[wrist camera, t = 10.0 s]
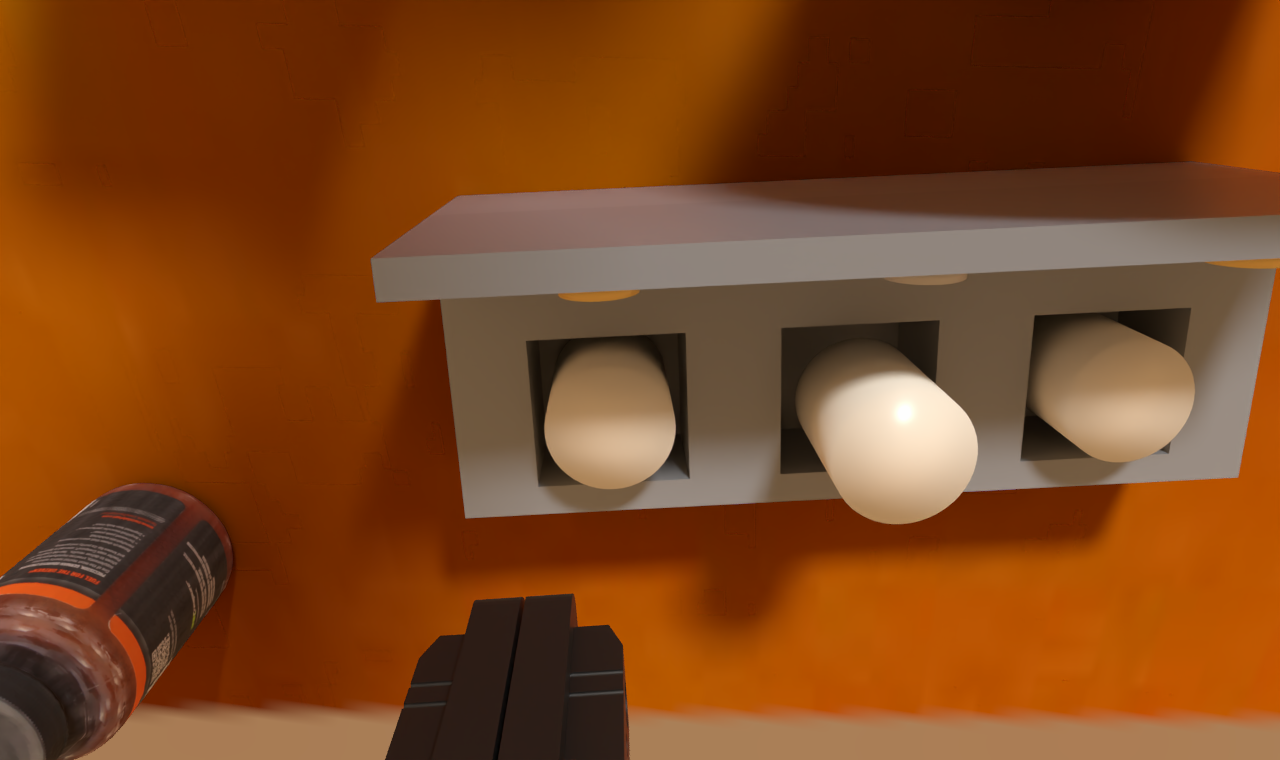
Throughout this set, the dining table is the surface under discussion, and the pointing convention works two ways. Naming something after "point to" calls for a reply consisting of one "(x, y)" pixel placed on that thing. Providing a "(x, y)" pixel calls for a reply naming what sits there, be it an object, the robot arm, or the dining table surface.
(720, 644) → the dining table surface
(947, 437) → the middle button
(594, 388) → the button
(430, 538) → the dining table surface
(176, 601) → the supplement bottle
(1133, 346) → the button
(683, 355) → the console
